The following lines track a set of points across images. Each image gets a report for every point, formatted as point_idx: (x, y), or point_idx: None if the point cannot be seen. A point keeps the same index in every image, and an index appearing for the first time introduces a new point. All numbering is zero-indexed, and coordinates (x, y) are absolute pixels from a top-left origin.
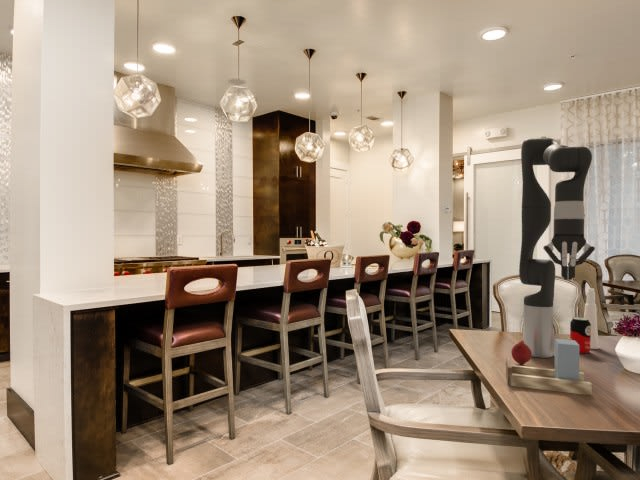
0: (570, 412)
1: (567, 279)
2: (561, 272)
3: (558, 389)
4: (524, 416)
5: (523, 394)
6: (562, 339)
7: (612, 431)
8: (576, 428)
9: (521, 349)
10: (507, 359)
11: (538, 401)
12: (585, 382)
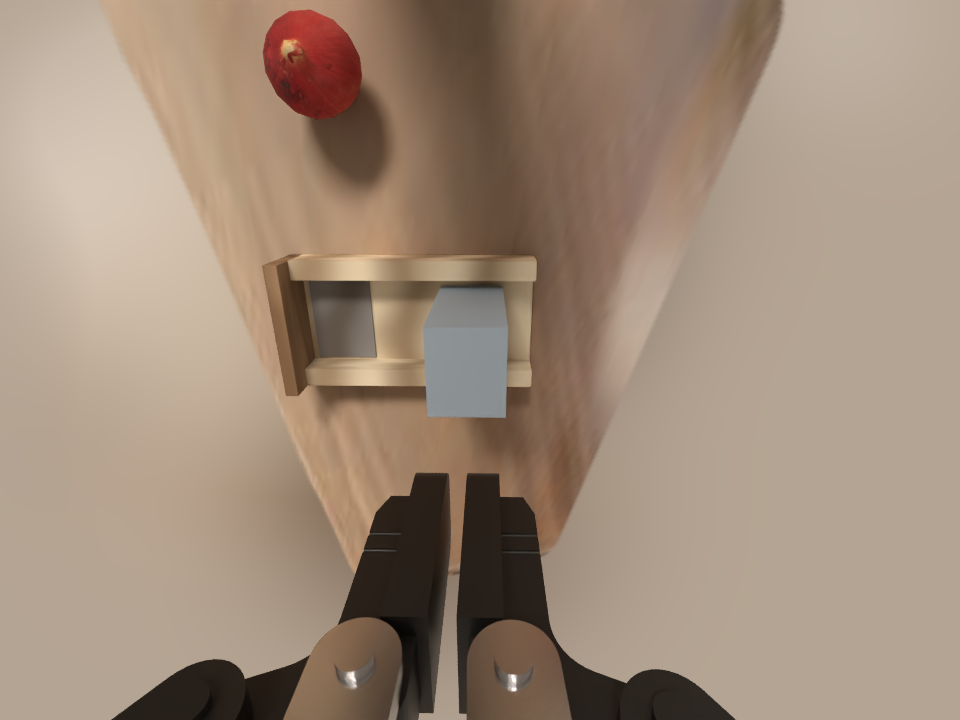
0: (452, 501)
1: (449, 535)
2: (367, 556)
3: None
4: (360, 549)
5: (354, 427)
6: (454, 327)
7: None
8: (451, 569)
9: (306, 103)
10: (271, 294)
11: (389, 462)
12: (515, 380)
